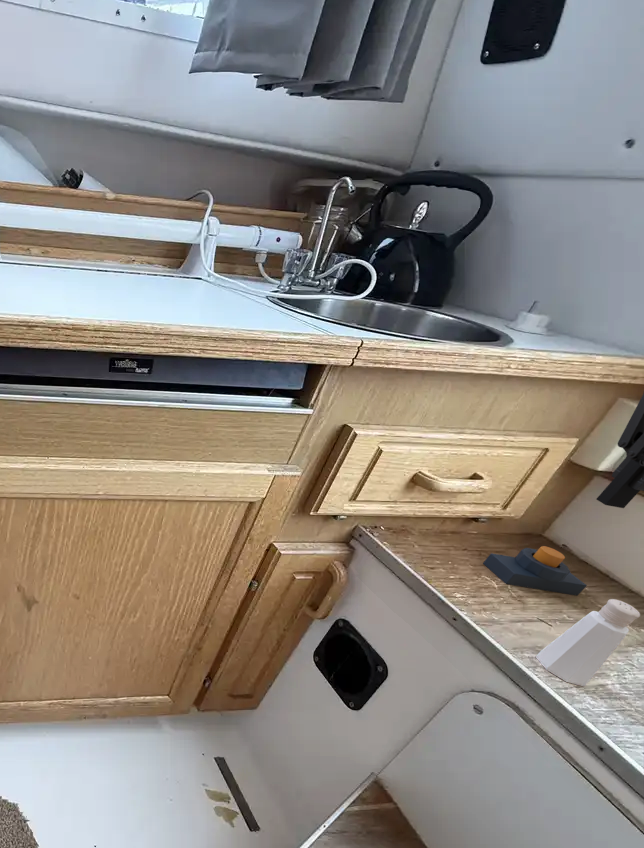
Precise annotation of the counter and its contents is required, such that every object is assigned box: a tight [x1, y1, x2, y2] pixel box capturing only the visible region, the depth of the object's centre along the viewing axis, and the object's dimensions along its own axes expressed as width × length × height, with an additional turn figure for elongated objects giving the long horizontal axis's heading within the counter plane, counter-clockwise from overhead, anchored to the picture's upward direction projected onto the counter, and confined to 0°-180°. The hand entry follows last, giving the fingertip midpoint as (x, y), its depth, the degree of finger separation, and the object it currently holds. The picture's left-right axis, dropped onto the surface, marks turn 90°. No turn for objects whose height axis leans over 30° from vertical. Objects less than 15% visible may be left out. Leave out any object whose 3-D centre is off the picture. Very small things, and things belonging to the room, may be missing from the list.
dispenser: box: [482, 547, 588, 596], centre depth 87 cm, size 12×6×4 cm, turn 88°
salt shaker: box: [535, 598, 641, 687], centre depth 67 cm, size 5×5×11 cm
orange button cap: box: [533, 545, 566, 568], centre depth 85 cm, size 3×3×2 cm
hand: (609, 503), depth 77 cm, fingers closed
